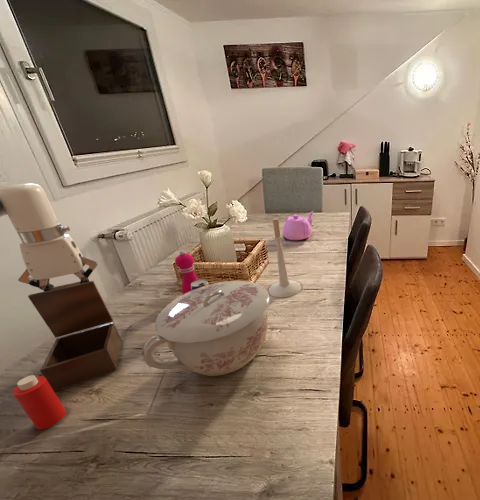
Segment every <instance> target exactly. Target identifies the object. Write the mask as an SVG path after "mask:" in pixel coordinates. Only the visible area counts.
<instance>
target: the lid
mask: <svg viewBox="0 0 480 500" xmlns="http://www.w3.org/2000/svg"><path fill="white" fill-rule="evenodd" d="M80 281H81V280H80ZM80 281H75V282H74V281H73V282H70V283H65V284H61V285H57V286H54V287H52V290H49V291H45V292H44V291H41V292H36V293H31V294H28V295H27V298H28V299H29V301H30V302H31V303H32V305H33V306H34V308H35V310H36V311H37V313H38V314H39V315H40V317H41V318H42V320H43V321H44V323H45V324H46V326H47V327H48V329H49V330H50V332H51V333H52V335H53V336H54V338H55V339H57V338H59V337H63V336H66V335H70V334H73V333H77V332H81V331H84V330H88V329H91V328H95V327H98V326H102V325H105V324H109V323H112V322H114V319H113V317H112V314H111V313H110V311H109V308H108V307H107V305H106V302H105V301H104V299H103V297H102V295H101V292H100V291H99V289H98V287H97V285H96V283H95V281H94V280H89V281H90V282H85V283H81V284H80Z"/></svg>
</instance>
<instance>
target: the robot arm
mask: <svg viewBox="0 0 480 500" xmlns="http://www.w3.org/2000/svg"><path fill="white" fill-rule="evenodd" d="M4 216H7V217H8V219H9V220H10V222H11V224H12V226H13V228H14V229H15V231H16V233H17V235H18V237H19V239H20V241H21V242H20V243H19V249H20V254H21V257H22V260H23V263H24V265H25V268H26V269H25V270H24V272H23V273H21V275H20V277H19V278H18V279H17V281H18V282H20V283H23V284H25V285H30V286H31V287H35V288H38V289H39V290H41V291H43V292H45V291H49V290H52V287H55V286H54V284H52V283H50V279H54V278H58V277H64V276H68V275H72V274H73V275H74V276H76V277H77V278H78V279H79V280H80V284H81V283H85V282H90V281H91V280H90V279H89V277H90V276H91V275H92V274H93V272H94V270H96V268H97V267H98V264H99V263H98V262H97V261H95V260H93V259H90V258H87V257H85V256H84V255H83V254H82V252H81V250H80V248H79V247H78V245H77V243H76V242H75V241H74V239H73V238H72V236H71V235H70V234H68V233H67V232H71V229H70V226H69V225H67V226H65V225H62V224H61V223H60V222H59V221H58V218H57V216H56V213H55V211H54V209H53V206H52V204H51V203H50V200H49V198H48V196H47V193H46V192H45V189H44V187H42V186H41V185H40V184H37V183H20V184H19V183H17V184H11V185H5V186H4V185H3V186H0V218H1V217H4ZM66 233H67V234H66ZM85 266H88V267H87V269H86V270H84V267H85Z"/></svg>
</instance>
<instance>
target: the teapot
mask: <svg viewBox="0 0 480 500" xmlns="http://www.w3.org/2000/svg"><path fill="white" fill-rule="evenodd" d="M314 212H315V211H314V210H312V211H310V212H309V213H308V217H307V218H305V216H303V215H302V216H301V215H299V214H292V216H286V218H285V223H284V224H283V227H282V228H283V229H282V235H283V237H285V238H286V239H287V240H290V241H302V240H306V239H308V238H309V237H310V236H311V235H312V233H313V229H312V226H313V214H314Z"/></svg>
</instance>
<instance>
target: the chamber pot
mask: <svg viewBox="0 0 480 500" xmlns="http://www.w3.org/2000/svg"><path fill="white" fill-rule="evenodd" d="M208 284H209V285H205V286H203V287H200V288H197V289H194V290H192V291H190V292H188V293H186V294H182V295H180V296H178V297H176V298H175V299H174V300H172V301H171V302H169V303H168V304H167V305H166V306H165V307H164V308H162V310H161V311H160V313H159V314H158V315H157V317H156V320H155V324H154V329H155V330H156V333H157V335H153V336H151V337H149V338H148V340H147V341H146V342H145V343H144V345H143V348H142V352H141V355H142V358H143V362H145V364H147V366H148V367H149V368H153V369H158V370H163V371H165V370H183V371H189V372H194V373H196V374H199V375H201V376H208V377H219V376H225V375H228V374H231V373H234V372H237V371H238V370H240V369H242V368H243V367H245V366H247V365H248V364H249V363H250V362H251V361H253V359H254V358H255V357H256V356H257V355H258V353H259V351H260V349H261V348H262V347H263V345H264V343H265V341H266V338H267V333H268V325H269V317H268V313H267V308H268V306H269V302H270V299H271V298H270V294H269V290H267V289H266V288H265V287H263V286H262V285H261V284H259V283H256V282H253V281H249V280H237V279H236V280H235V279H234V280H224V281H218V282H214V283H213V282H212V283H208ZM165 343H167V348H168V349H169V350H170V351H172V354H173V356H174V357H175V359H176V360H168V361H162V360H157V359H155V358H154V357H153V350H154V349H155V348H156V347H158V346H159V345H161V344H165Z"/></svg>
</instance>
